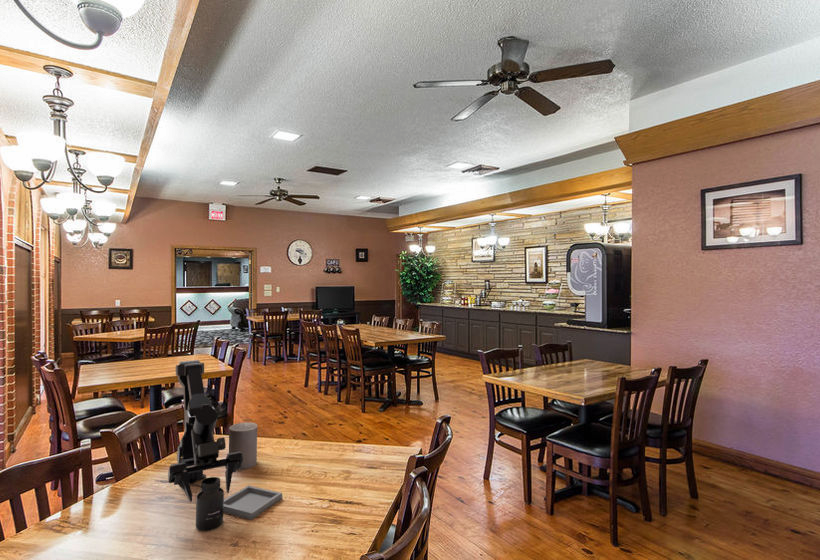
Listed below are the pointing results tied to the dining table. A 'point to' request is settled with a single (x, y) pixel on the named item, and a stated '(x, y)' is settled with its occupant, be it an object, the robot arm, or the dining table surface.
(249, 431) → the pillar candle
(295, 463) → the dining table surface
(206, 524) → the supplement bottle
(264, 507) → the tray
